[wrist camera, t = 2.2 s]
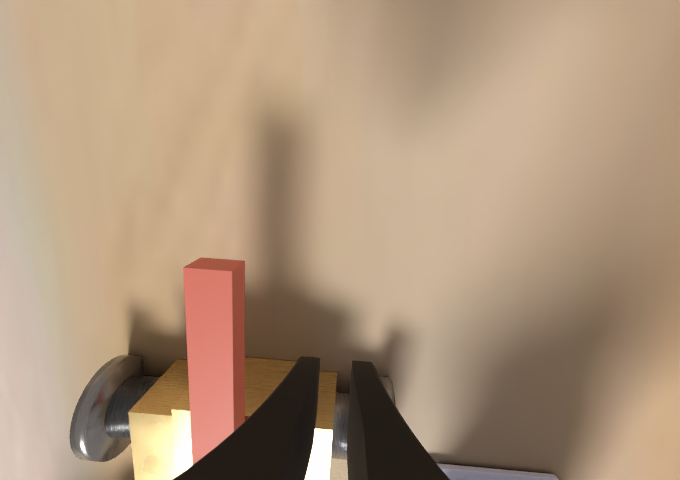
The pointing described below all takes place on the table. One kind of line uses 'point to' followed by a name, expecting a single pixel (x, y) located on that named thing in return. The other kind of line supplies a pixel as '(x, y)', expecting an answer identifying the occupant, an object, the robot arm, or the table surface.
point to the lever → (215, 350)
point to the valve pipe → (187, 415)
